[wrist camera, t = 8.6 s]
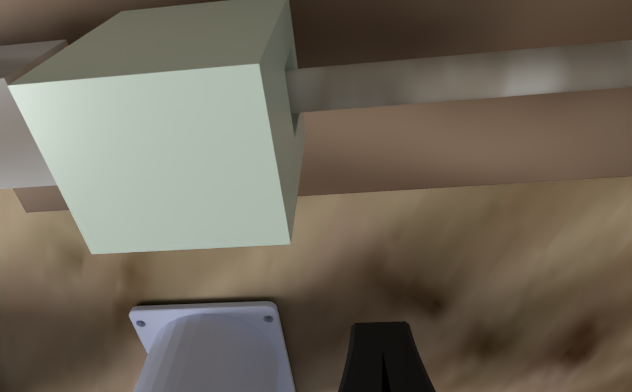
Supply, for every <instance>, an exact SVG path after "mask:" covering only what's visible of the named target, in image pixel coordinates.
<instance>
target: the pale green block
mask: <svg viewBox="0 0 632 392" xmlns="http://www.w3.org/2000/svg"><path fill="white" fill-rule="evenodd" d="M290 69H298V66H297V58H296V50H295V43H294V35H293V27H292V19H291V12H290V4H289V0H227V1H217V2H207V3H197V4H187V5H178V6H168V7H158V8H148V9H138V10H129V11H121V12H120V13H118V14H117V15H115V16H113V17H112V18H110V19H109V20H107V21H106V22H104V23H103V24H101V25H100V26H98V27H97V28H95V29H94V30H92V31H90V32H89V33H87V34H86V35H84V36H83V37H81V38H80V39H78V40H77V41H75V42H74V43H72V44H71V45H69V46H67V47H66V48H64V49H63V50H61V51H60V52H58V53H57V54H55V55H54V56H52V57H51V58H49V59H48V60H46V61H44V62H43V63H41V64H40V65H38V66H37V67H35V68H34V69H32V70H31V71H29V72H28V73H26V74H24V75H23V76H21V77H20V78H18V79H17V80H15V81H14V82H12V83H11V84H9V85H8V88H9V90H10V92H11V94H12V96H13V98H14V100H15V102H16V104H17V106H18V108H19V110H20V112H21V114H22V116H23V118H24V120H25V122H26V124H27V126H28V128H29V130H30V132H31V134H32V136H33V138H34V140H35V142H36V144H37V146H38V148H39V150H40V152H41V154H42V156H43V158H44V160H45V162H46V164H47V166H48V168H49V170H50V172H51V174H52V176H53V178H54V180H55V182H56V184H57V186H58V188H59V190H60V192H61V194H62V196H63V198H64V200H65V202H66V204H67V206H68V208H69V210H70V212H71V214H72V216H73V218H74V220H75V222H76V224H77V226H78V228H79V230H80V232H81V234H82V236H83V238H84V240H85V242H86V244H87V246H88V248H89V250H90V252H91V254H105V253H125V252H145V251H165V250H185V249H205V248H225V247H245V246H265V245H285V244H291V239H292V232H293V224H294V217H295V210H296V202H297V195H298V187H299V180H300V173H301V165H302V158H303V151H304V143H305V136H306V128H305V120H304V112H301V113H291V111H290V104H289V98H288V91H287V84H286V77H285V70H290Z"/></svg>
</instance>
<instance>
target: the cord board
mask: <svg viewBox="0 0 632 392" xmlns="http://www.w3.org/2000/svg"><path fill="white" fill-rule="evenodd" d="M217 1H227V0H0V189H7V188H13V190H14V192H15V193H16V195H17V197H18V199H19V200H20V202H21V204H22V206H23V207H24V209H25V211H26V212H43V211H60V210H69V208H68V206H67V204H66V202H65V200H64V198H63V196H62V194H61V192H60V190H59V188H58V186H57V184H56V182H55V180H54V178H53V176H52V174H51V172H50V170H49V168H48V166H47V164H46V162H45V160H44V158H43V156H42V154H41V152H40V150H39V148H38V146H37V144H36V142H35V140H34V138H33V136H32V134H31V132H30V130H29V128H28V126H27V124H26V122H25V120H24V118H23V116H22V114H21V112H20V110H19V108H18V106H17V104H16V102H15V100H14V98H13V96H12V94H11V92H10V90H9V88H8V85H9V84H11V83H12V82H14V81H15V80H17V79H18V78H20V77H21V76H23V75H24V74H26V73H28V72H29V71H31V70H32V69H34V68H35V67H37V66H38V65H40V64H41V63H43V62H44V61H46V60H48V59H49V58H51V57H52V56H54V55H55V54H57V53H58V52H60V51H61V50H63V49H64V48H66V47H67V46H69V45H71V44H72V43H74V42H75V41H77V40H78V39H80V38H81V37H83V36H84V35H86V34H87V33H89V32H90V31H92V30H94V29H95V28H97V27H98V26H100V25H101V24H103V23H104V22H106V21H107V20H109V19H110V18H112V17H113V16H115V15H117V14H118V13H120V12H121V11H129V10H138V9H148V8H158V7H168V6H178V5H187V4H197V3H207V2H217ZM289 4H290V12H291V19H292V27H293V35H294V43H295V50H296V58H297V66H298V69H290V70H285V77H286V84H287V91H288V98H289V104H290V111H291V113H301V112H304V120H305V128H306V136H305V143H304V151H303V158H302V165H301V173H300V180H299V187H298V195H297V196H311V195H328V194H344V193H361V192H378V191H395V190H411V189H428V188H445V187H462V186H478V185H495V184H512V183H529V182H545V181H562V180H579V179H596V178H612V177H629V176H632V0H289Z"/></svg>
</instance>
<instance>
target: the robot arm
mask: <svg viewBox="0 0 632 392" xmlns="http://www.w3.org/2000/svg"><path fill="white" fill-rule="evenodd" d="M268 316H271V317H268ZM129 317H130V319H131V322H132V324H133V326H134V328H135V330H136V332H137V334H138V336H139V338H140V340H141V342H142V344H143V346H144V348H145V350H146V352H147V354H148V355H147V358H146V360H145V363H144V365H143V368H142V370H141V373H140V376H139V378H138V381H137V383H136V386H135V388H134V391H133V392H296V391H295V386H294V381H293V377H292V372H291V368H290V363H289V359H288V354H287V350H286V345H285V341H284V336H283V332H282V327H281V322H280V318H279V313H278V309H277V306H276V305H275V304H274V303H273V302H270V301H255V302H229V303H202V304H176V305H150V306H135V307H133V308H132V309H131V311H130V313H129ZM338 392H436V391H435V389H434V387H433V385H432V383H431V381H430V379H429V376H428V374H427V372H426V370H425V367H424V365H423V363H422V360H421V358H420V355H419V353H418V350H417V347H416V345H415V342H414V339H413V336H412V332H411V329H410V325H409V324H408V323H407V322H405V321H402V322H372V323H355V324H353V325H352V326H351V334H350V343H349V349H348V355H347V360H346V364H345V368H344V373H343V377H342V380H341V384H340V387H339V391H338Z"/></svg>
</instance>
